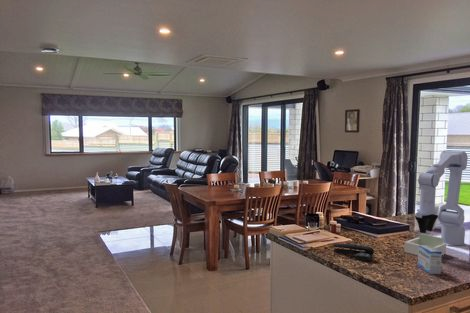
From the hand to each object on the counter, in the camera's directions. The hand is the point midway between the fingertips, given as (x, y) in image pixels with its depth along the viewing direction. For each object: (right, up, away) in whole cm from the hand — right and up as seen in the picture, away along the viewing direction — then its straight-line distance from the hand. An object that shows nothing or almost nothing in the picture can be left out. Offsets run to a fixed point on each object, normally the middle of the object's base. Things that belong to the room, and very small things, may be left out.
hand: (425, 231), depth 157 cm
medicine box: (-9, -11, -19) cm, 24 cm away
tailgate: (+4, -7, +4) cm, 9 cm away
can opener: (-33, -10, -4) cm, 35 cm away
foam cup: (+24, -7, +43) cm, 49 cm away
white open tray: (0, -9, +1) cm, 9 cm away
